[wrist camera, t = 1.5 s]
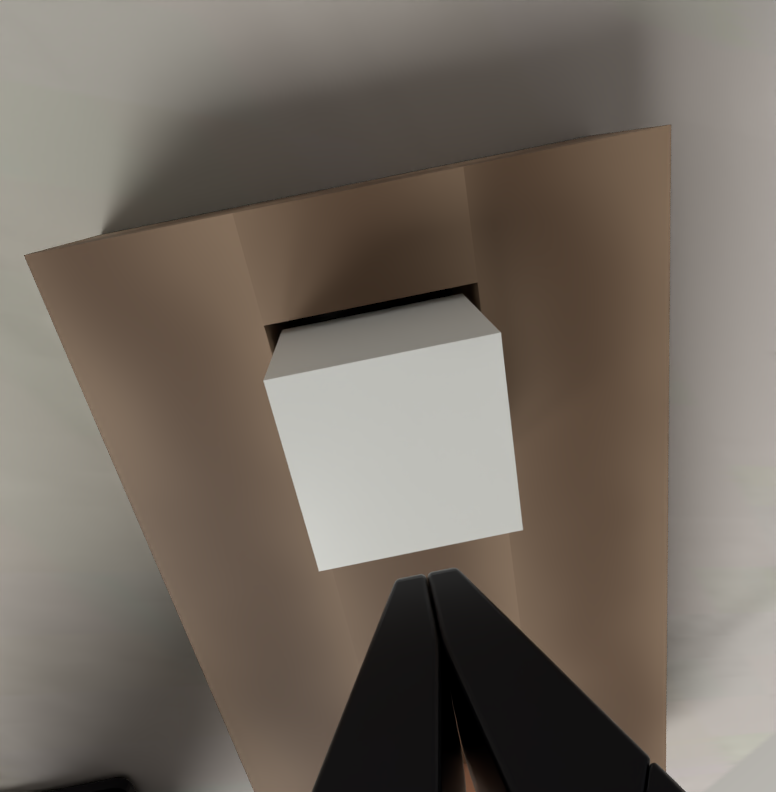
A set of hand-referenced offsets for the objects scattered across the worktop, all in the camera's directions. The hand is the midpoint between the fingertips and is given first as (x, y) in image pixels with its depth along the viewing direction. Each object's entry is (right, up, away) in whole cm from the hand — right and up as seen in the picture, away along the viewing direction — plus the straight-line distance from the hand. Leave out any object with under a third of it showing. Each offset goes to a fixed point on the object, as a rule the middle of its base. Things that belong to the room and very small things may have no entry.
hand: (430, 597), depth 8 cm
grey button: (-1, +3, +7) cm, 7 cm away
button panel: (+1, -3, +13) cm, 13 cm away
